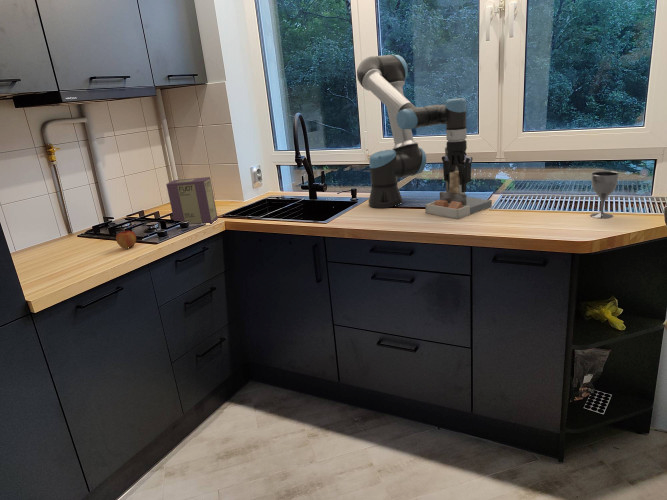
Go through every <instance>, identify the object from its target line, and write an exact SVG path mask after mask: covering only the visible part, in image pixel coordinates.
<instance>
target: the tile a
mask: <svg viewBox="0 0 667 500" xmlns="http://www.w3.org/2000/svg"><path fill="white" fill-rule="evenodd" d="M434 202H435V206H441V207H448V201H445V200H440V199H437V200H435V201H434Z"/></svg>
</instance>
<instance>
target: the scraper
mask: <svg viewBox="0 0 667 500" xmlns="http://www.w3.org/2000/svg"><path fill="white" fill-rule="evenodd" d="M460 183H461V182H460V177H459V171H454V172H450V192H446V191H444V190H443V191H440V192H439V200H445V201H448V203H451V201H456V202H461V203H462V205H467V201H466V197H467V194H466V193H465V194H459V184H460Z"/></svg>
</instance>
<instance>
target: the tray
mask: <svg viewBox="0 0 667 500" xmlns="http://www.w3.org/2000/svg"><path fill="white" fill-rule="evenodd" d="M424 209H425V214H428V215H429V214H430V215H435V216H439V217H440V216H441V217H445V218H449V219H450V218H451V219H456V220H459V219H462V218H465V217H468V216H470V215H471V214H470V206H469V205H468V206H465V207H462V208H459V209H453V208H447V207H441V206H435V201H432V202H429V203H425V205H424Z"/></svg>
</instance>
